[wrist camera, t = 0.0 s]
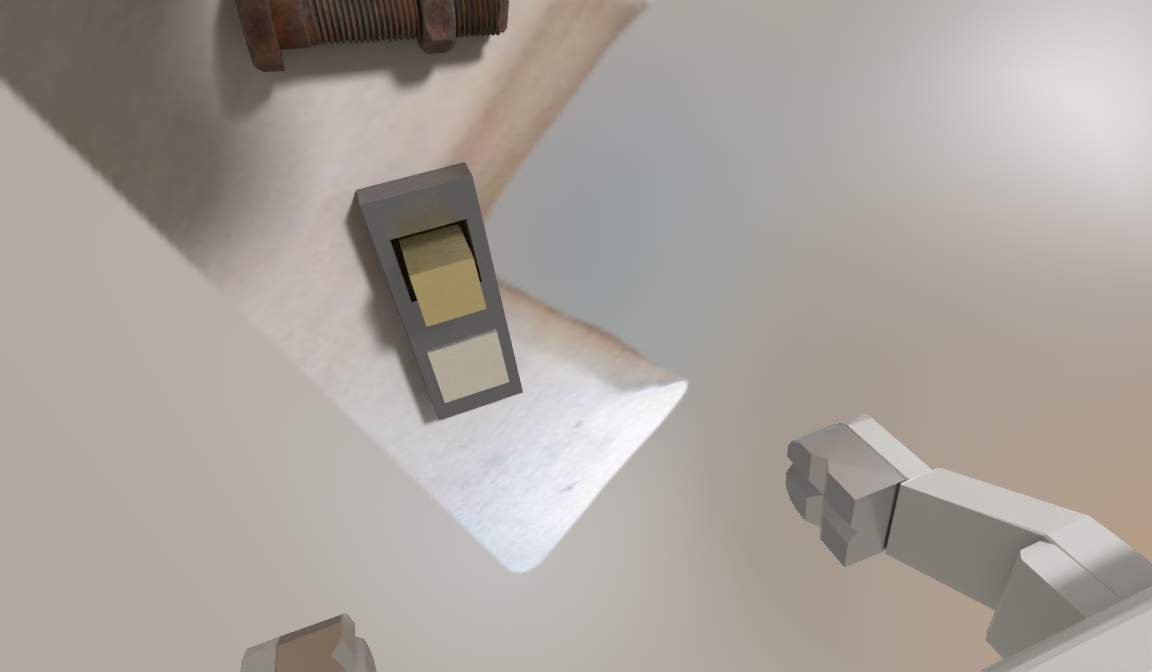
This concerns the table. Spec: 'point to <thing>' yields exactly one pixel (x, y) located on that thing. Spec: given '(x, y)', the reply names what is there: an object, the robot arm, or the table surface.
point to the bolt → (362, 23)
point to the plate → (443, 351)
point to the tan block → (442, 273)
